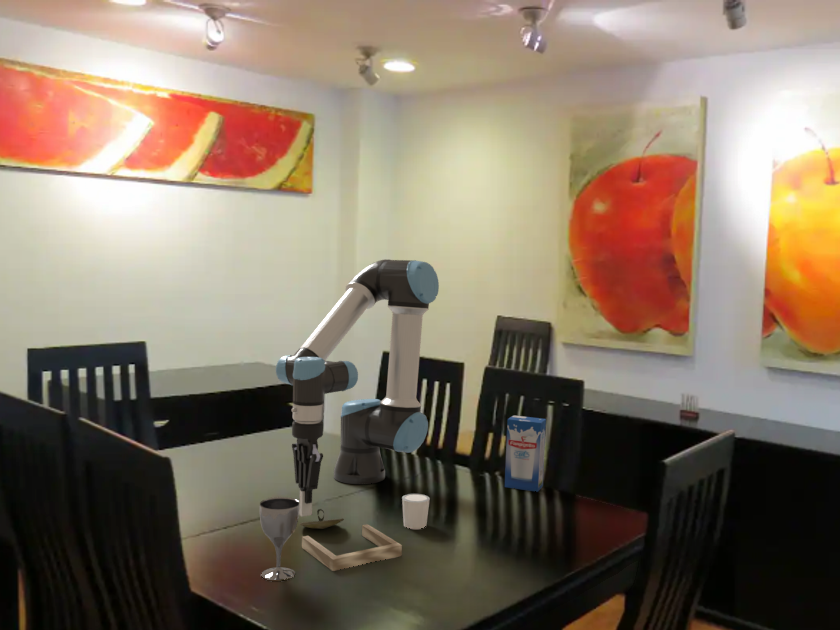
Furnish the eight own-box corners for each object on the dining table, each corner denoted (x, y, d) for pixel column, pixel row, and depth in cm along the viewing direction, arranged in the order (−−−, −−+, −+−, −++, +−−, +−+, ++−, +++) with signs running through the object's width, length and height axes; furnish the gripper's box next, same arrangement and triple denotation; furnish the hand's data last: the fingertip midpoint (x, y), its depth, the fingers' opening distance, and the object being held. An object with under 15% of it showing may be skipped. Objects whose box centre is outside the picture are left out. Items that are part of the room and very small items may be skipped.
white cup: (425, 531, 189) (426, 503, 189) (398, 528, 191) (399, 500, 190) (431, 522, 196) (432, 494, 196) (404, 519, 198) (405, 492, 197)
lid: (305, 540, 181) (306, 519, 181) (294, 525, 190) (294, 505, 190) (349, 534, 186) (349, 514, 185) (336, 521, 195) (336, 501, 194)
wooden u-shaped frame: (367, 534, 186) (367, 524, 186) (401, 556, 174) (401, 545, 173) (301, 547, 176) (302, 536, 176) (332, 571, 164) (333, 559, 164)
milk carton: (504, 487, 228) (507, 419, 226) (510, 481, 234) (513, 415, 232) (538, 492, 224) (541, 422, 223) (543, 486, 230) (546, 418, 228)
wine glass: (260, 566, 165) (262, 497, 164) (299, 566, 166) (300, 497, 165) (256, 582, 157) (257, 509, 156) (296, 582, 158) (297, 509, 157)
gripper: (282, 416, 195) (280, 509, 197) (305, 427, 185) (302, 525, 186) (310, 414, 200) (307, 505, 201) (333, 424, 189) (331, 520, 191)
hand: (305, 514), depth 194 cm, fingers closed
